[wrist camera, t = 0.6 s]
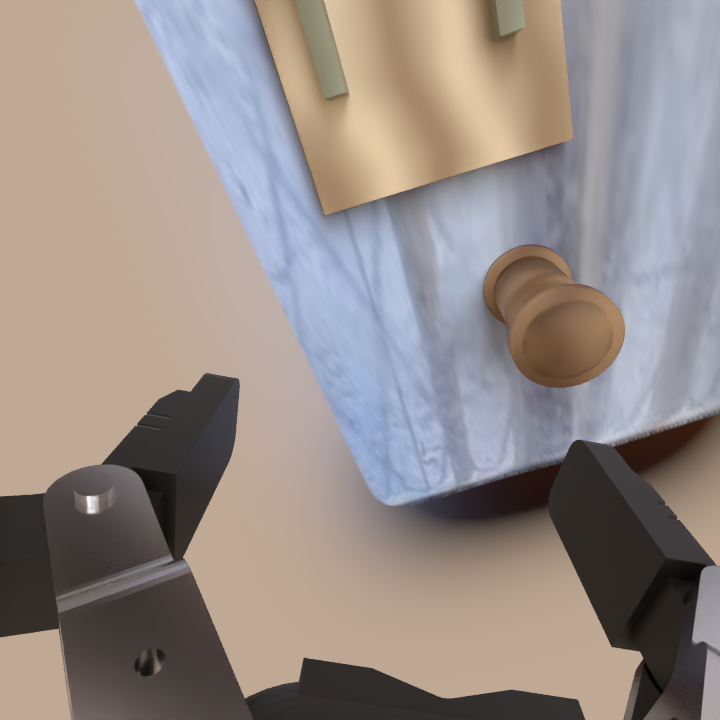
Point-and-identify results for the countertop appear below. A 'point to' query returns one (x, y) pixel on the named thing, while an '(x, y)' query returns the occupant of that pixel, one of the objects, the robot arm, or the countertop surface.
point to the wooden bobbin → (552, 318)
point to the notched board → (417, 88)
